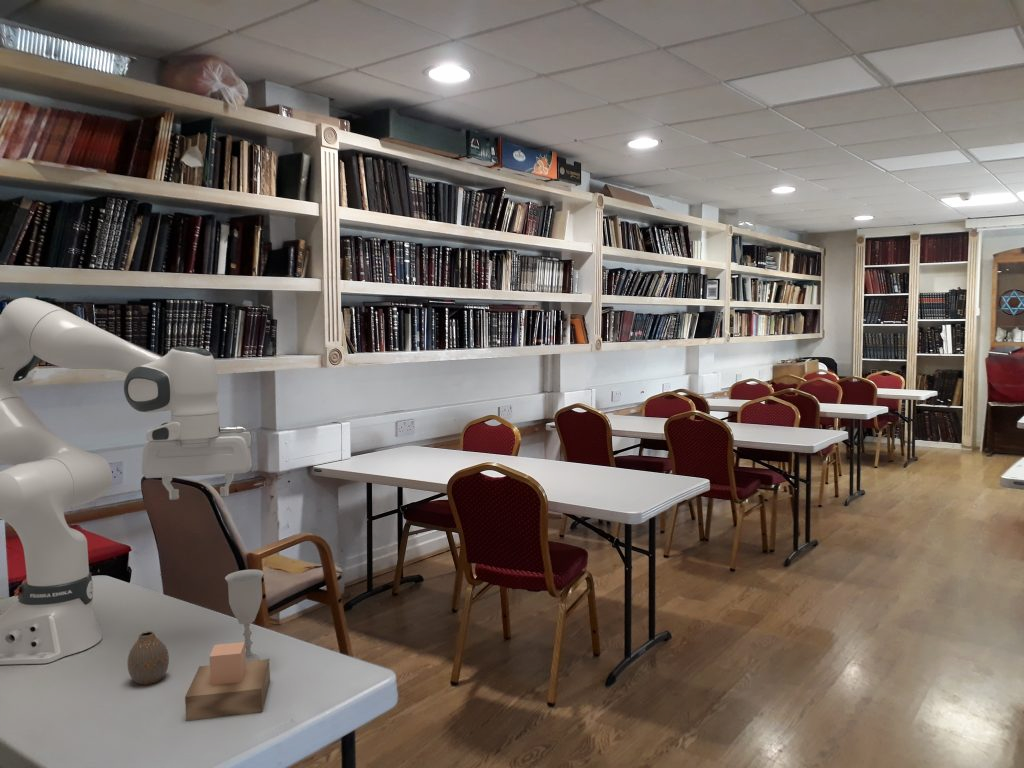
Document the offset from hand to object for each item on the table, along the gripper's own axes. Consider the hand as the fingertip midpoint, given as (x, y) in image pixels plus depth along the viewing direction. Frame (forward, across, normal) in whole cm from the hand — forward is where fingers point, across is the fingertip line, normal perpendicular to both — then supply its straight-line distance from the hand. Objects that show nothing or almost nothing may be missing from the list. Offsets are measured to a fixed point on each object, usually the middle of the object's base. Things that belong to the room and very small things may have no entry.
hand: (199, 497), depth 154 cm
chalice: (+31, -10, +12) cm, 35 cm away
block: (+27, -8, +24) cm, 37 cm away
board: (+31, -8, +24) cm, 40 cm away
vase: (+31, +8, +12) cm, 34 cm away
